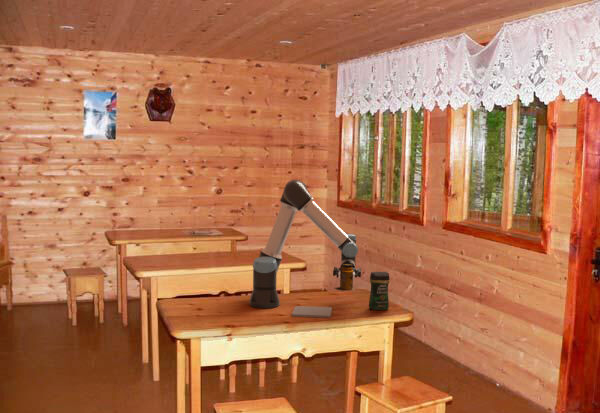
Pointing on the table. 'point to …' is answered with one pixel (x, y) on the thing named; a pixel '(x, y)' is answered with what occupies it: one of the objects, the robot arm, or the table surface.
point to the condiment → (346, 278)
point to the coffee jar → (379, 291)
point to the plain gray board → (312, 311)
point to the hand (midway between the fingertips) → (346, 276)
